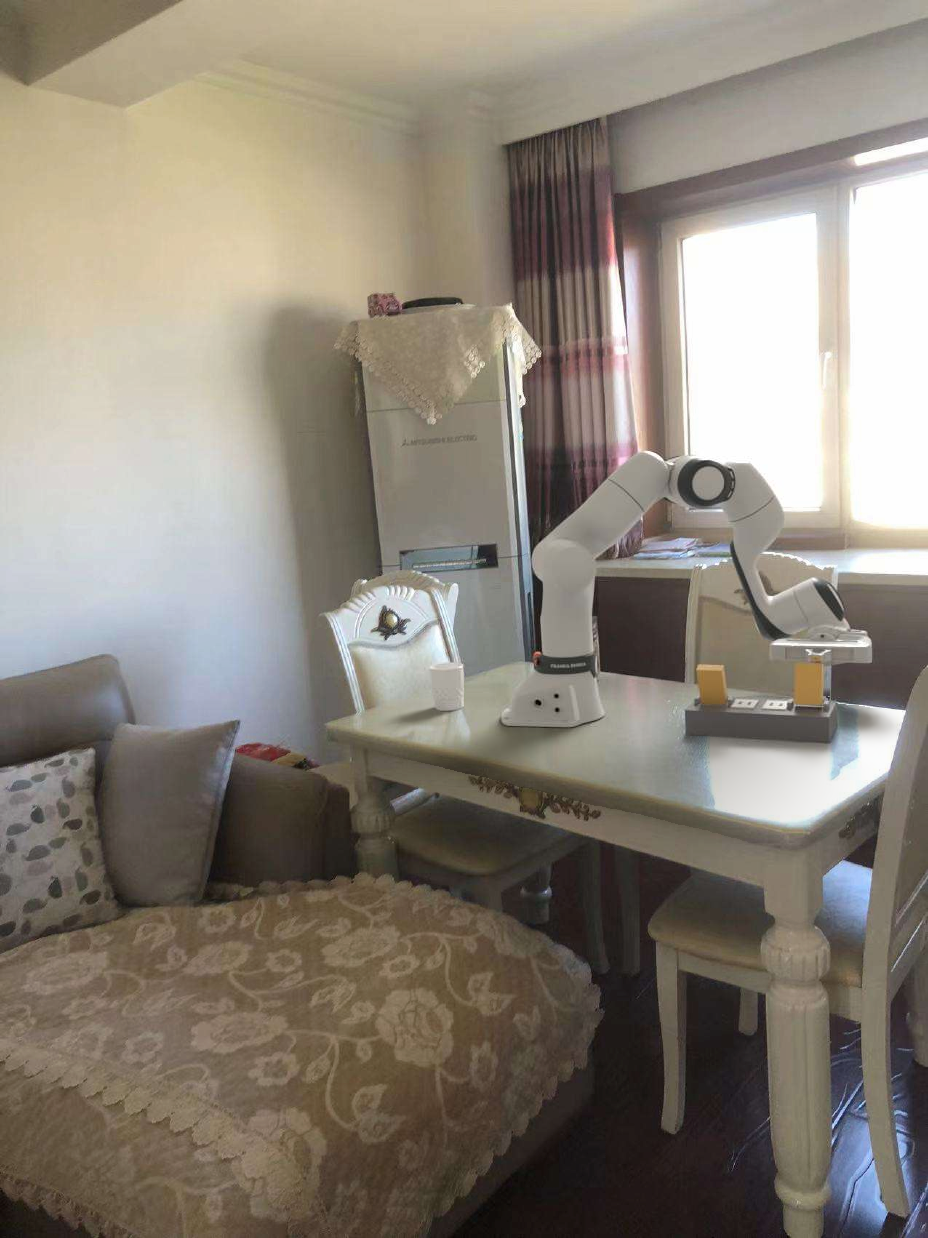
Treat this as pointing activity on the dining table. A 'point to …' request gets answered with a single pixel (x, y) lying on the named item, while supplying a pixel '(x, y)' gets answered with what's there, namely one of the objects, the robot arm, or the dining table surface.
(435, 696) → the white cup
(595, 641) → the coffee box
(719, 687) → the switch
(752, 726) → the power box
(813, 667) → the switch
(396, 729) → the dining table surface
